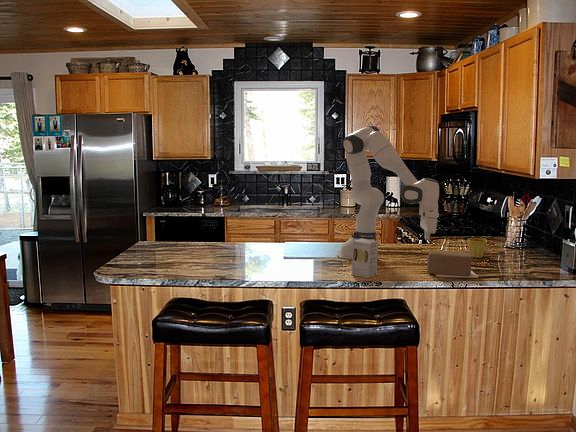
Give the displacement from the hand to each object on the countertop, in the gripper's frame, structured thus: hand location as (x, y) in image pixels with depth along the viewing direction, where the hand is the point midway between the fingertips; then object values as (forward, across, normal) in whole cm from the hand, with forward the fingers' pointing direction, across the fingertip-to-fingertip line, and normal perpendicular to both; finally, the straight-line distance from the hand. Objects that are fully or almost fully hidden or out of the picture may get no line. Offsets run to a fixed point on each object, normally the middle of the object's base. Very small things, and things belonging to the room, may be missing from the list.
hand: (426, 239), depth 281 cm
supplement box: (+17, +9, -31) cm, 36 cm away
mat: (+17, 0, +14) cm, 22 cm away
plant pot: (+17, -41, +37) cm, 58 cm away
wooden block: (+11, +1, +1) cm, 11 cm away
